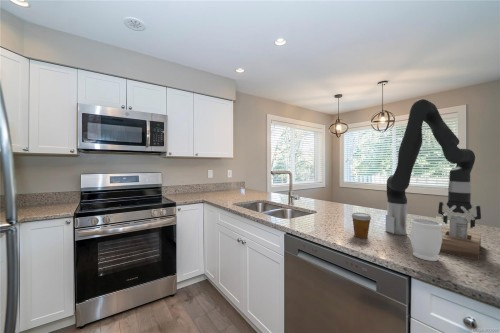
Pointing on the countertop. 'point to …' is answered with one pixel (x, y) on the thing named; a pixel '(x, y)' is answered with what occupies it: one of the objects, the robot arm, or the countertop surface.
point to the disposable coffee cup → (361, 224)
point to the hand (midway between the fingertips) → (458, 225)
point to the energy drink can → (458, 226)
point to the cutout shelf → (461, 244)
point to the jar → (426, 239)
